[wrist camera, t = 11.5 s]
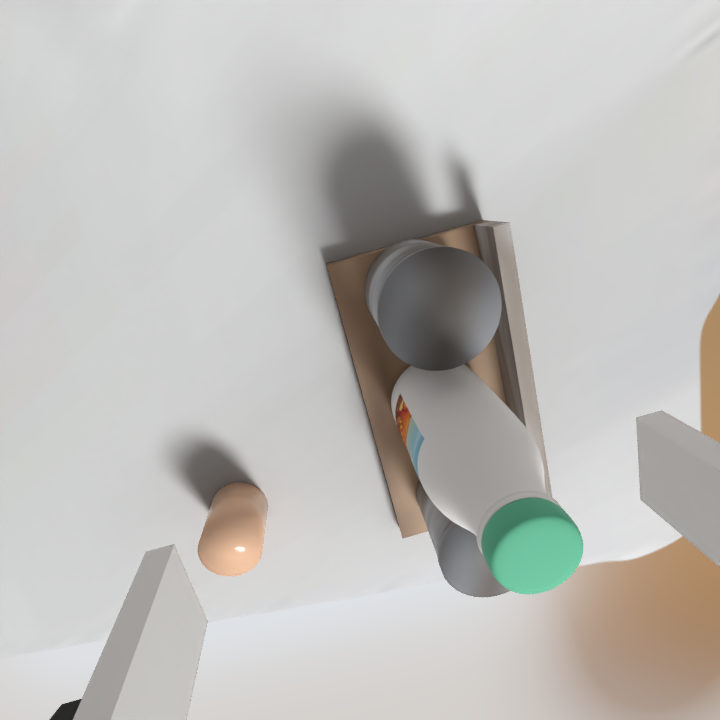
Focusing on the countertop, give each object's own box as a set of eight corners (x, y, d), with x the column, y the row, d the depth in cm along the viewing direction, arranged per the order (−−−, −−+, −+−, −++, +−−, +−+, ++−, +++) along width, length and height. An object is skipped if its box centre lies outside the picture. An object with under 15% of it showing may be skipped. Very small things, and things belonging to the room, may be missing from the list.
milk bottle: (400, 346, 40) (483, 476, 21) (489, 361, 41) (642, 496, 22) (381, 431, 42) (440, 618, 23) (465, 443, 43) (587, 629, 24)
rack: (400, 531, 47) (424, 616, 37) (324, 258, 39) (330, 276, 29) (529, 494, 47) (587, 569, 38) (482, 215, 39) (540, 218, 29)
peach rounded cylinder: (222, 536, 45) (210, 583, 40) (203, 491, 44) (188, 533, 38) (274, 521, 46) (270, 566, 40) (257, 475, 44) (250, 516, 38)
